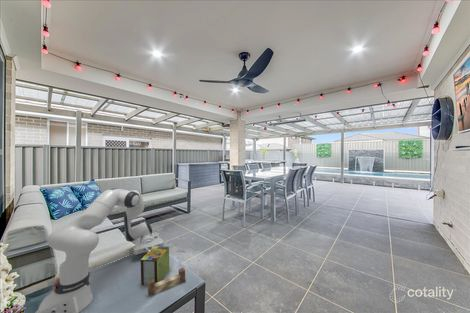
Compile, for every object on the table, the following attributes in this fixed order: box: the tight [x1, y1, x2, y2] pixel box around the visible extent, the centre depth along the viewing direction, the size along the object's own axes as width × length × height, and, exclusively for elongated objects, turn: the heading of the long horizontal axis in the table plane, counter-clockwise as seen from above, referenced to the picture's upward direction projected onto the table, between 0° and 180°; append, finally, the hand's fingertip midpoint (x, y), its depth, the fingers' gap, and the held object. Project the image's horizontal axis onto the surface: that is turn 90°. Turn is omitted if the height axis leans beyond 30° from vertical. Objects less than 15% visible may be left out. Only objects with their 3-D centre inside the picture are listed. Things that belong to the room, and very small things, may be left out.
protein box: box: [140, 245, 170, 287], centre depth 112 cm, size 10×15×16 cm
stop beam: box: [147, 267, 186, 297], centre depth 104 cm, size 20×4×7 cm, turn 124°
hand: (150, 251), depth 127 cm, fingers closed
